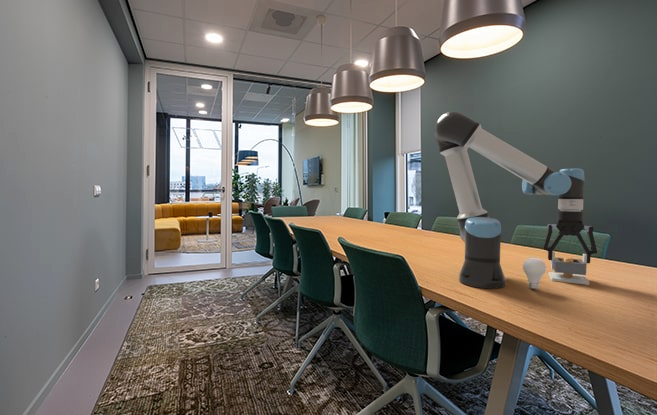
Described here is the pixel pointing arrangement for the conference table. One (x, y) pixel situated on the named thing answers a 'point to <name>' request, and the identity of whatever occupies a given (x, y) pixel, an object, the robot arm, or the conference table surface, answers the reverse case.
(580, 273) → the grey square frame
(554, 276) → the keeper
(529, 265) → the light bulb
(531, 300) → the conference table surface
